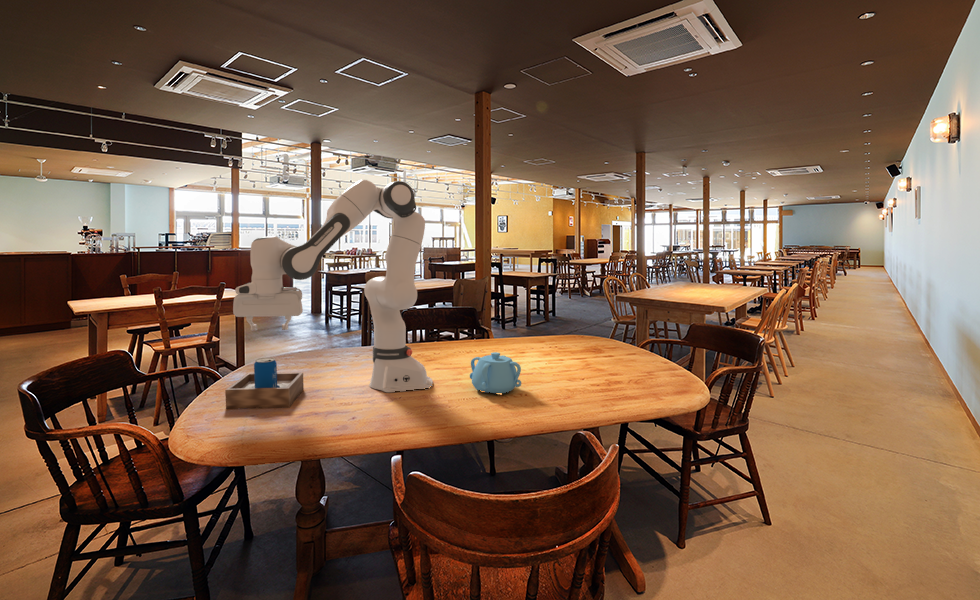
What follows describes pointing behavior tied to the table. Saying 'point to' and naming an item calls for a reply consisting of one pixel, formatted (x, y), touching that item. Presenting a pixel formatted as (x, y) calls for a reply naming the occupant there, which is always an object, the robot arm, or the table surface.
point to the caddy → (264, 392)
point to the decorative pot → (495, 373)
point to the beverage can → (265, 373)
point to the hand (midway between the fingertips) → (269, 330)
